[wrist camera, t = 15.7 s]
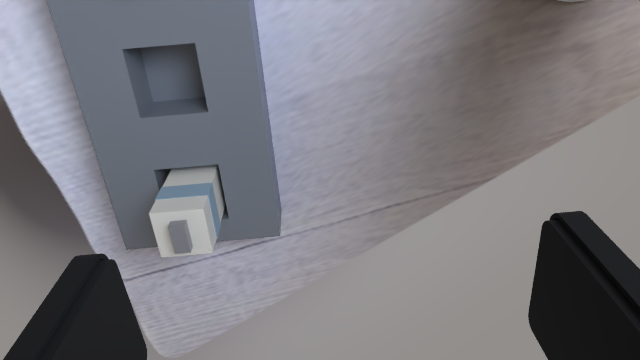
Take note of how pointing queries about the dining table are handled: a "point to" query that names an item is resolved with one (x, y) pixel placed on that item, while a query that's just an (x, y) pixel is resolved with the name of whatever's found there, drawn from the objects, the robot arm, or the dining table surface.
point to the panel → (173, 104)
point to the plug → (188, 211)
